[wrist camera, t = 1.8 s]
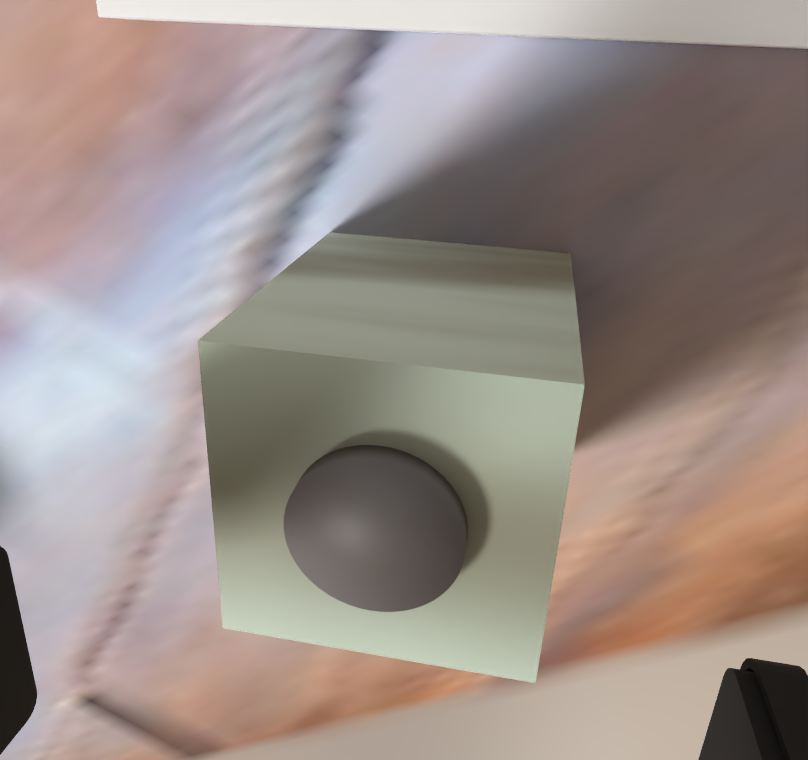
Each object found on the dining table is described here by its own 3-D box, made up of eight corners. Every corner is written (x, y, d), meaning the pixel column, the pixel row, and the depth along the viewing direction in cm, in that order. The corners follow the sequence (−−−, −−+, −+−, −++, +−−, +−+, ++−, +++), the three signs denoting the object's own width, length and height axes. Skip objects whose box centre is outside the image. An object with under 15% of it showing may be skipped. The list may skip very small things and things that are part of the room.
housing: (330, 231, 17) (185, 350, 10) (571, 252, 16) (586, 397, 9) (330, 437, 19) (213, 644, 12) (540, 465, 18) (534, 702, 12)
